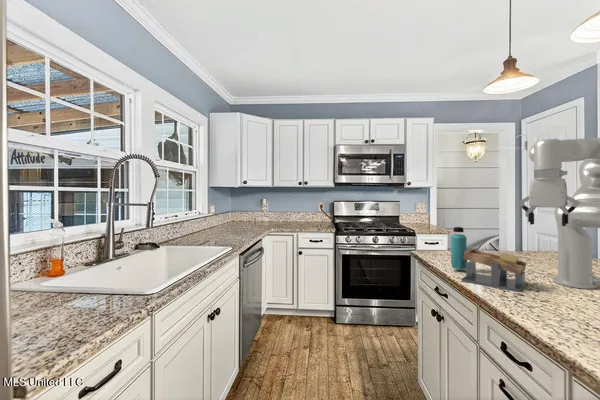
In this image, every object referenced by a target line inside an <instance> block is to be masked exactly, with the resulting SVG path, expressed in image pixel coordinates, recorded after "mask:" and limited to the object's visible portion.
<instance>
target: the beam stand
mask: <svg viewBox="0 0 600 400" xmlns="http://www.w3.org/2000/svg"><path fill="white" fill-rule="evenodd" d="M476 266H477V262H473V261H470V260H468V261H467V263H466V269H465V271H466V272H465V273H466V275H465V276H464V277H462V278H461V282H463V283H469V284H474V285H480V286H484V287H489V288H496V289H500V290H504V291H511V292H517V293H520V292H522V290H523V289H524V288H525V287H527V285H528V282H527V281H526V273H525V271H523V272H522V273H521V274H516V273H514V274H515V275H514V279H513V278H508V271H506V270H502V269H500V264H497V263H491V266H490V268H491V269H490V270H491V271H490V273H491V274H490V275H487V274H482V273H477V271H476V270H477V267H476Z"/></svg>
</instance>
